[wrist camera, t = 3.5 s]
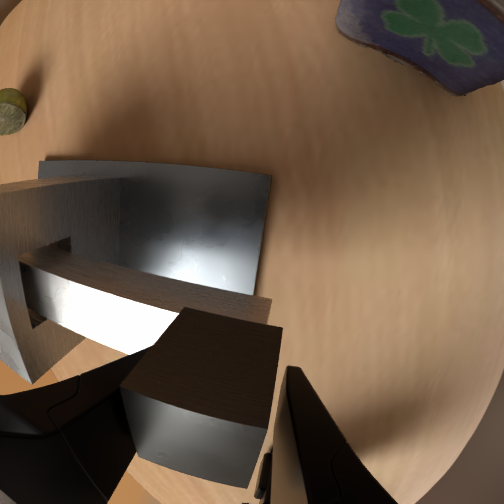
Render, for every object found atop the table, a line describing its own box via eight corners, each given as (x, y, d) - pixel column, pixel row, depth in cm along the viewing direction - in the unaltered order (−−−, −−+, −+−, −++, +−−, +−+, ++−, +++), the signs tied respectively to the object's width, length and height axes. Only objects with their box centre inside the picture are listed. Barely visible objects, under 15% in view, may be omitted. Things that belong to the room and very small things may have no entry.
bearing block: (271, 175, 15) (223, 177, 5) (245, 347, 18) (201, 475, 8) (44, 160, 17) (-59, 173, 7) (49, 287, 20) (-33, 336, 11)
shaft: (287, 294, 10) (267, 429, 4) (273, 358, 11) (247, 488, 5) (-5, 225, 12) (-75, 250, 6) (0, 268, 13) (-64, 300, 7)
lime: (41, 101, 16) (-3, 96, 11) (19, 148, 17) (-23, 151, 12) (25, 82, 15) (-14, 77, 11) (5, 126, 17) (-33, 126, 12)
